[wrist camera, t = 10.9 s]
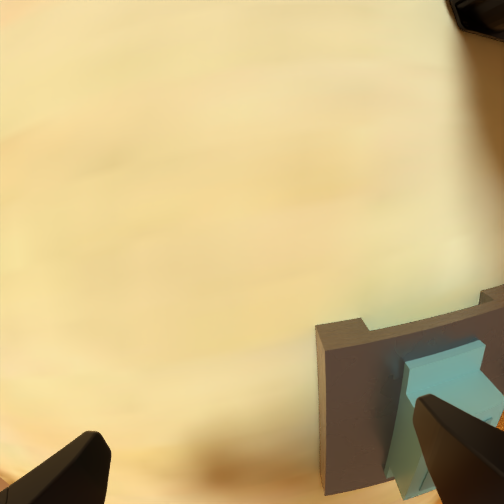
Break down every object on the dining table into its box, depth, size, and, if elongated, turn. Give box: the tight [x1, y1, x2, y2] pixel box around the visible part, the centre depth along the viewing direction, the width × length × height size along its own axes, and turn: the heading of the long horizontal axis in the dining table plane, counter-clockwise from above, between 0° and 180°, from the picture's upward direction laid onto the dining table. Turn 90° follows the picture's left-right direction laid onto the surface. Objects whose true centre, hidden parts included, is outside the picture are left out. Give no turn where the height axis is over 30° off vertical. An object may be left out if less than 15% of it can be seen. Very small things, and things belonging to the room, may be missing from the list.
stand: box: [315, 285, 504, 496], centre depth 20 cm, size 16×16×3 cm
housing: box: [384, 340, 504, 501], centre depth 16 cm, size 12×6×5 cm, turn 8°
